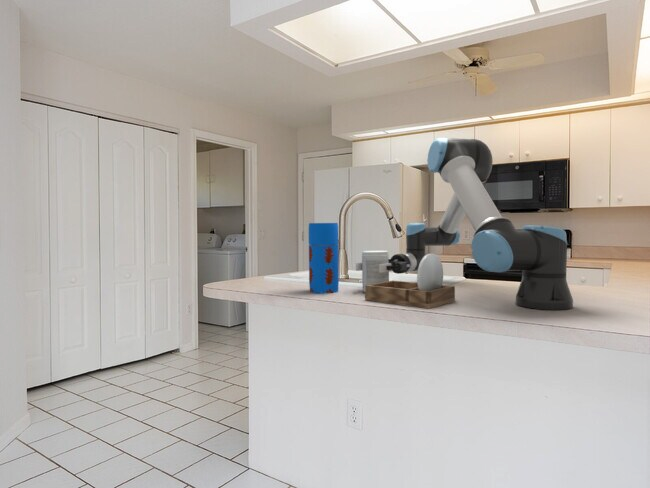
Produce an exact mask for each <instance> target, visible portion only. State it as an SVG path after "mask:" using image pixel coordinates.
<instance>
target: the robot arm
mask: <svg viewBox="0 0 650 488" xmlns="http://www.w3.org/2000/svg"><path fill="white" fill-rule="evenodd" d="M426 161H427V167H428V170H429V171H430V172H431V173H433V174H436V173H437V174H438V173H439V175H440V178H441V179H442V181H443V182H445V183H447V184H450V186H451V188H452V190H453V195H452V196H451V199H450V201H449V203H448V205H447V207H446V209H445V212H444V213H443V215H442V217H441V220H440V222H439V224H438V226H436V227H428V226H427V227H426V223H424V222H410V223H407V224H406V228H405V229H406V230H405V240H406V245H405V246H406V250H405V252H404V253H397V254H396V253H395V254H394V255H392V256H391V257H390V258H389V264H381V265H379V272H380V273H382V272H388V271H389V272H393V273H395V274H397V275H398V274H406V275H407V274H408V273H412V272H418V267H419V264H420V262H421V260H422V258H423V257H424V256H425V255H426V254H427V253H426V247H435V246H436V247H438V246H439V247H440V246H441V247H445V246H446V247H448V246H455V245H457V244H458V243H460V238H461V237H460V236H461V235H460V234H461V233H460V231H459V228H460V226H461V224H462V222H463V220H464V218H465V217H466V216H467V218H468V220H469V222H470V224H471V225H472V228H473V229H474V233H473V235H472V236H473V237H472V240H471V245H470V246H471V247H470V248H471V249H472V251H471V254H472V257H473V258H472V259H473V260H474V262H475V263H476V265H477V266H478V267H479V268H480V269H482V270H484V271H486V272H494V273H505V272H521V271H522V272H521V281H520V284H519V286H518V289H517V291H516V293H515V304H516V305H517V306H520V307H523V308H529V309H538V310H551V311H553V310H554V311H555V310H570V309H573V307H574V299H573V295H572V294H571V290H570V287H569V285H568V281H567V261H568V260H567V259H568V240H567V239H568V238H567V233H566V231H565V229H562V228H559V227H556V226H555V227H554V226H546V225H545V226H544V225H534V224H533V225H532V224H531V225H530V224H529V225H524V226H522V229H519V230H518V229H516V227H515V225H514V223H513V222H512V221H511V219H510V218H507V217H504V216H502V214H501V213H500V211H499V210H498V207H497V206H496V204H495V203H494V201H493V199H492V198H491V196H490V195H489V193H488V191H487V190H486V188H485V186H484V183H486V182H487V181H488V179H489V176H490V174H491V172H492V168H493V163H494V162H493V154H492V152H491V149H490V147H489V146H488V145H487V144H486V143H485V142H483V141H482V140H480V139H477V138H470V139H469V138H455V137H446V136H445V137H439V138H438V137H437V138H436V139H435V140H433V141H432V142H431V144H430V146H429V150H428V154H427V159H426ZM355 271H357V272H360V271H362V262H356V263H355Z"/></svg>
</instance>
